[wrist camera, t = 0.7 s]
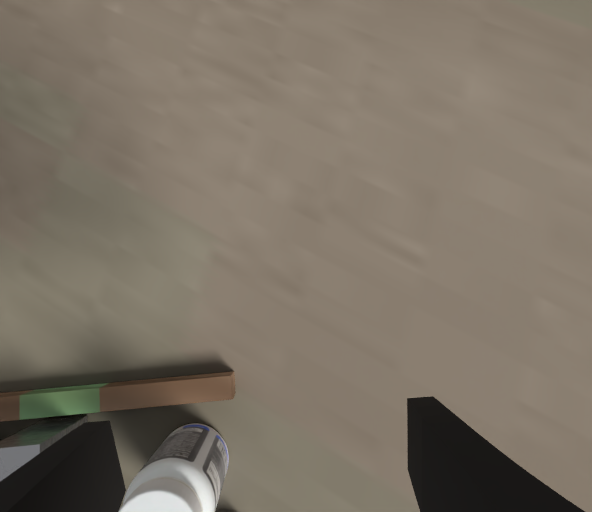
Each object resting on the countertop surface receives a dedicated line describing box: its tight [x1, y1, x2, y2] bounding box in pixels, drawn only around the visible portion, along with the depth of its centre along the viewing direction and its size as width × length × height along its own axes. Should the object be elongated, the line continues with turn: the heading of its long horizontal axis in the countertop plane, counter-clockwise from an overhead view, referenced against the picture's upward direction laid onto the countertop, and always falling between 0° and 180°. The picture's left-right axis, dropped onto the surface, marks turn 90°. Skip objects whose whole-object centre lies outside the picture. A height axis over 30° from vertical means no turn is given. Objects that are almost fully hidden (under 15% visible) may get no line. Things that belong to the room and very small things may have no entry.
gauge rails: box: [0, 371, 235, 422], centre depth 24 cm, size 11×16×2 cm
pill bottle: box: [118, 423, 229, 512], centre depth 21 cm, size 5×5×8 cm
